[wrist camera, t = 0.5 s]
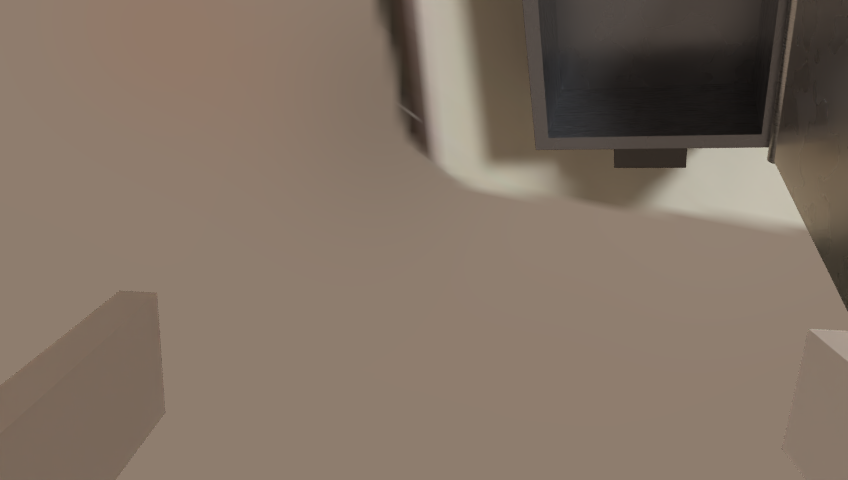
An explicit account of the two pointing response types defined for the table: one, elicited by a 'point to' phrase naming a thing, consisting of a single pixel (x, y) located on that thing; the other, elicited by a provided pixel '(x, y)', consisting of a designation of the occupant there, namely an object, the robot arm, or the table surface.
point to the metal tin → (657, 75)
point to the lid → (819, 130)
